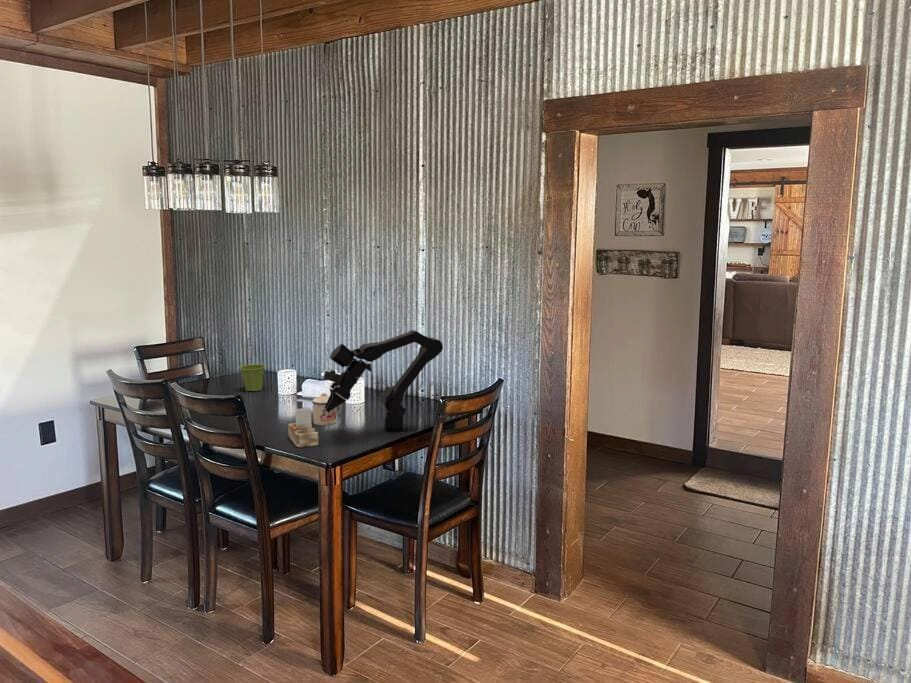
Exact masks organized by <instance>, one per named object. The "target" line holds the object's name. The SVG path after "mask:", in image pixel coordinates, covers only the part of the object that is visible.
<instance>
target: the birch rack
mask: <svg viewBox="0 0 911 683" xmlns="http://www.w3.org/2000/svg"><path fill="white" fill-rule="evenodd" d="M287 428H288V431H287V432H288V437H289V439H290V440H291V441H292V442H293V444H294V445H295V447H296V446H297V447H299V448H305V446H307V447H313V446H319V432H318V431H316V429H315V428H314V427H313V428H312V429H305V430H296V422H295V423H287ZM297 447H296V448H297Z"/></svg>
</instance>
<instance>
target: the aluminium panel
mask: <svg viewBox="0 0 911 683" xmlns="http://www.w3.org/2000/svg"><path fill="white" fill-rule="evenodd" d="M294 410H295V411H294V412H295V423H296V430H305V429H313V428H312V427H313V426H312V408H310V407H303V408H296V409H294Z"/></svg>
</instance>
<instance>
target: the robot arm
mask: <svg viewBox="0 0 911 683" xmlns="http://www.w3.org/2000/svg"><path fill="white" fill-rule="evenodd" d="M413 343H416V344H417V345H420V347H419V350H418V353H417V356H416V357H415V358H414V360H412V362H411V363H410V365H409V366H408V367H407V369H406V370H405V371H404V372H403V374H402V375H401V376H400V377H399V379H398V380H397V382H396V383H395V384H394V385H392V386H391V387H390V386H388V385H386V387H385V388H384V389H383V391H382V392H381V393H380V398H379V404H380V405H381V407H382V408H384V411H385V412H386V415H385V416H384V429H385V431H386V432H400V431H401V432H402V431H404V430H405V425H404V415H405V414H406V411H407V409H406V408H405V407H404V406H403V405H402V402H403V400H404V396H405V393H406V392H407V390H408V389H409V387H410V386H411V385H412V384H413V382H414V381H415V379H417V377H418V376H419V374H420V373H421V372H422V370H423V369H424V368H425V367H426V366H427V364H428V363H429V362H431V361H432V360H434V359H436V357H437V356H439V355H440V354H441V353H442V351H443V348H444V347H443V342H442V341H441V340H440V339H437V338H434V337H431V336H426V335H424V334H422V333H420V332H419V331H417V330H409V331H407V332H405V333H401V334H398V335H395V336H393V337H390V338H388V339H385V340H381V341H379V342H378V341H377V342H375V341H374V342H369V343H364V344H363V343H362V344H361V345H360V346H359V348H356V349H352V350H351V349H350V348H348V347H347V346H346V345H345V344H343V343H340V344H339V345H338V346H337V347H335V349H332V352H331V353H330V356H329V359H330V360H331V361H333V362H334V363H336V364H337V365H339V366H340V367H341V368H345V367H347V368H345V370H344V371H342V372H341V373H336V372H337V371H336V370H333V369H330V370H324V373H323V377H322V380H324V381H329V382H330V381H331V382H332V383H331V385H330V387H329V394H330V395H329V396H330V397H329V399H328V401H327V403H326V405H325V409H326V411H327V412H330V411H331V410H333V409H334V408H336V409H337V408H338V407H339V405H341V406H342V404H344V403H345V402H347V401H349V399H350V398H351V396H352V395H351V390H352V389H353V388H354V386H355V385H356V384H358V382H359V379H360V378H361V377H362V375H363V374H364V373H365V371H366V370H367V371H369V372H372V371H373V370H372V363H371V362H374V361H376V360H378V359H380V358H382V356H384V355H385V354H387V353H389V352H391V351H394V350H397V349H399V348H402V347H405V346H408V345H410V344H413ZM356 358H357V359H358V360H357V359H356ZM365 361H366V362H367V363H366V362H365Z"/></svg>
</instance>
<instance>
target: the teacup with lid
mask: <svg viewBox="0 0 911 683" xmlns="http://www.w3.org/2000/svg"><path fill="white" fill-rule="evenodd" d="M329 397H330V395H328V394H327V392H322V393H321V395H319V396H318V397H315V398H313V399H312V402H311V403H312V414H313V424H315V425H316V426H330V425H334V424H335V423H337V415H338V414H340V413H341V411H342V404H341V405H339V406H338V409H337V407H336V408H334V409H333V410H331V411H330V412H327V411H326V409H325V405H326V403H327V401H328V399H329Z"/></svg>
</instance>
